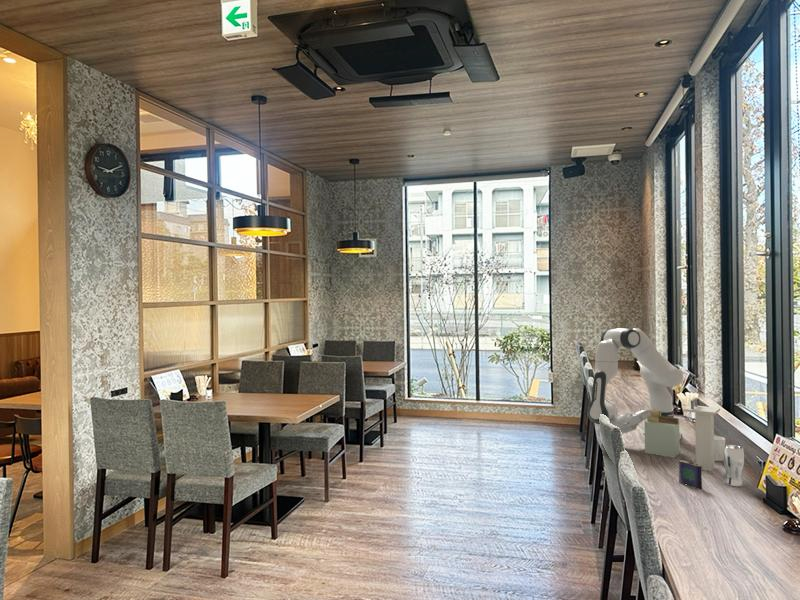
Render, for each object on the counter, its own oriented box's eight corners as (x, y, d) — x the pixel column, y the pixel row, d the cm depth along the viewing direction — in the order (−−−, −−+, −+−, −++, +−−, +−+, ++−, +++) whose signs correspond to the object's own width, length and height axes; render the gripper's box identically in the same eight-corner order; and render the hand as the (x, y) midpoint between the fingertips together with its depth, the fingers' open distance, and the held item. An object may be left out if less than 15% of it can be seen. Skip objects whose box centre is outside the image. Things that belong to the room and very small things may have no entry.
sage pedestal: (650, 448, 261) (650, 418, 261) (679, 453, 253) (679, 422, 253) (644, 452, 253) (644, 421, 254) (674, 457, 245) (674, 425, 245)
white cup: (703, 459, 243) (703, 437, 243) (707, 455, 248) (707, 434, 249) (723, 462, 237) (723, 440, 237) (727, 458, 243) (726, 437, 243)
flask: (677, 482, 212) (677, 456, 212) (682, 481, 213) (682, 455, 213) (699, 489, 204) (699, 462, 204) (704, 488, 205) (704, 461, 205)
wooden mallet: (650, 419, 259) (650, 409, 259) (679, 423, 250) (679, 412, 250) (647, 421, 255) (647, 410, 255) (676, 425, 247) (676, 414, 247)
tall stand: (690, 461, 239) (689, 396, 239) (720, 467, 231) (720, 399, 231) (684, 468, 230) (683, 400, 230) (715, 473, 222) (714, 403, 222)
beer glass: (726, 480, 214) (725, 443, 214) (746, 484, 209) (745, 446, 209) (721, 484, 209) (721, 446, 209) (741, 488, 204) (741, 450, 204)
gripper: (617, 420, 256) (643, 409, 249) (630, 413, 272) (655, 402, 264) (624, 432, 254) (650, 421, 247) (637, 424, 270) (662, 414, 262)
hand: (653, 411), depth 256 cm, fingers open, 8 cm apart
